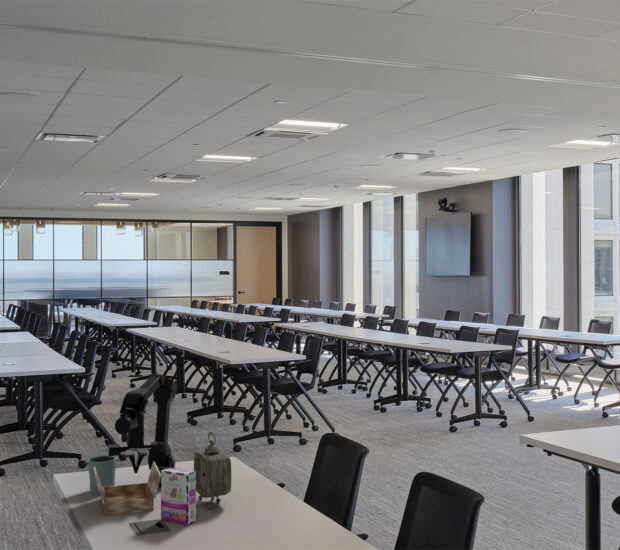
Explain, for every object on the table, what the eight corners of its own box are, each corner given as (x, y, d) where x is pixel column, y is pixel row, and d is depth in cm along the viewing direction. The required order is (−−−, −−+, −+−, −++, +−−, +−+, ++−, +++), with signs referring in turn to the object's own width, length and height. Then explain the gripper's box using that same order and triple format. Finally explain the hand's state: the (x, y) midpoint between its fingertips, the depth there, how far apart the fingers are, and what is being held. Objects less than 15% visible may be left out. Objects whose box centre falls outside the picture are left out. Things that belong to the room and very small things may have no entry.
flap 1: (94, 466, 263) (93, 466, 263) (97, 480, 245) (95, 481, 245) (101, 487, 264) (100, 487, 264) (104, 503, 246) (103, 503, 246)
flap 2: (159, 475, 251) (161, 475, 252) (153, 461, 270) (154, 461, 270) (153, 498, 251) (155, 498, 251) (147, 483, 269) (148, 483, 269)
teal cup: (111, 495, 268) (111, 462, 268) (83, 494, 268) (83, 461, 268) (119, 486, 278) (119, 455, 278) (92, 486, 278) (92, 454, 278)
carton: (147, 493, 269) (147, 482, 269) (153, 510, 250) (153, 498, 250) (101, 498, 264) (101, 486, 264) (104, 515, 245) (104, 503, 245)
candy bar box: (197, 521, 240) (197, 470, 240) (187, 526, 235) (187, 474, 235) (169, 515, 245) (169, 466, 245) (160, 520, 241) (160, 470, 240)
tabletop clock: (193, 499, 262) (193, 429, 262) (217, 496, 266) (217, 427, 266) (207, 511, 249) (207, 437, 249) (232, 507, 254) (232, 434, 253)
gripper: (159, 422, 269) (159, 465, 269) (106, 425, 263) (106, 469, 263) (164, 428, 258) (164, 472, 258) (108, 432, 252) (108, 477, 252)
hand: (135, 473), depth 258 cm, fingers closed
